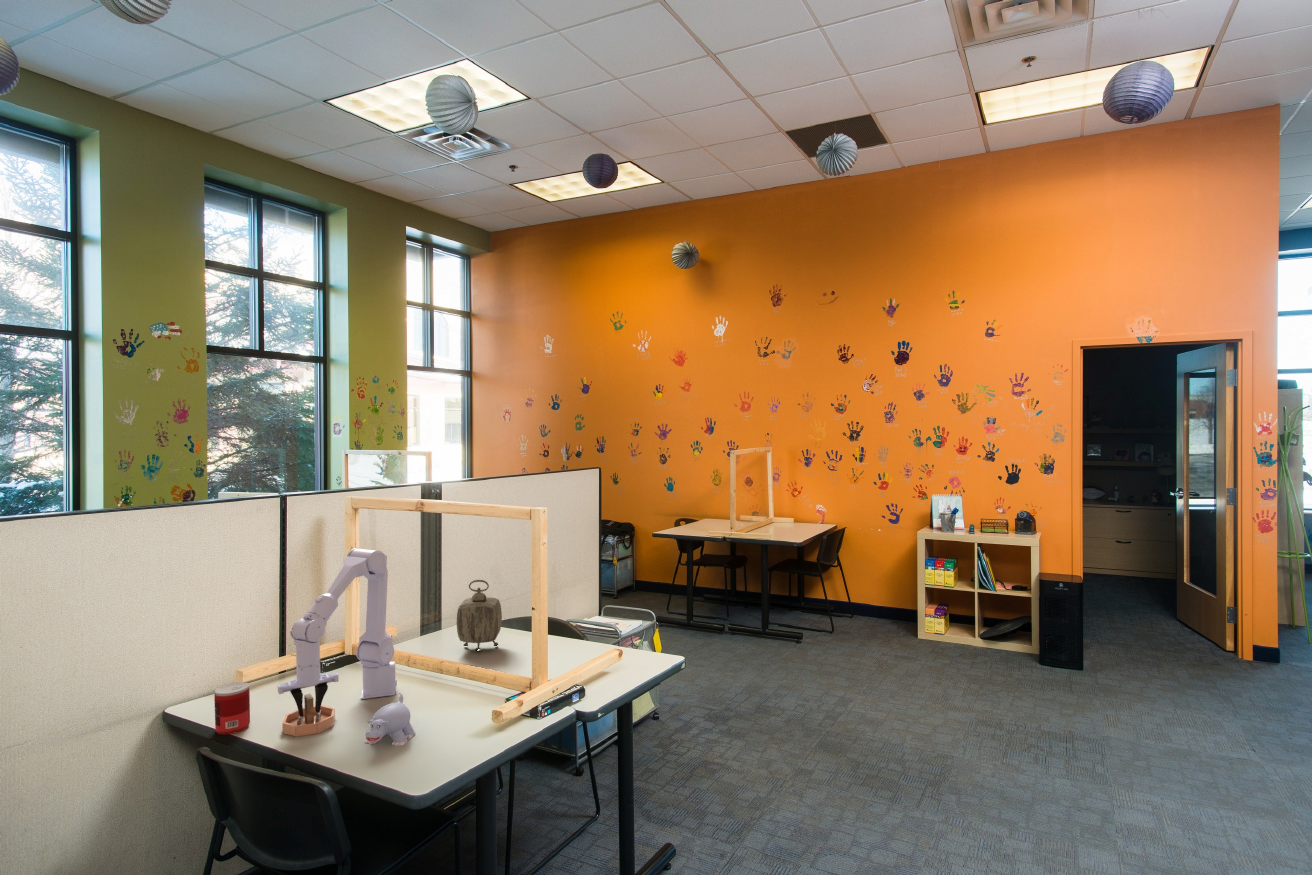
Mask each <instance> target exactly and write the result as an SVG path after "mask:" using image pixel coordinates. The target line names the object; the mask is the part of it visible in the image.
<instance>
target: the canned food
mask: <svg viewBox="0 0 1312 875" xmlns="http://www.w3.org/2000/svg"><path fill="white" fill-rule="evenodd" d="M213 695H214V725H215V726H214V727H215V728H214V729H215V732H216V733H217V734H218V735H233V734H237V733H239V732H240V733H241V732H242V731H244V730H246V729H247V728H248V727H249V726H250V725H251V724H250V723H251V714H250V713H251V706H250V705H251V702H250V700H251V698H250V696H251V695H250V684H249V683H247V682H231V683H227V684H224V685H222V686H218V688H216V689H215V690H214V694H213Z"/></svg>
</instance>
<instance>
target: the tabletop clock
mask: <svg viewBox="0 0 1312 875" xmlns="http://www.w3.org/2000/svg"><path fill="white" fill-rule="evenodd" d="M477 582H479V583H483V584H486V585H487V587H486V588H484V589H481V587H477V589H475V588H474V589H473V588H471V585H472V584H473V583H477ZM489 587H490V586H489V583H488V582H487V581H486V580H483V579H475V580H472V581H470V582H469V584H468V589H469V590H470V591H472V592H475V593H473V594H472V596H471V597H469V598H466V599H464V600H463V601H462V602H461V603H460V604H459V606H458V608H457V613H456V632H457V637H458V639H459V641H460V642H463V647H464V646H468V647H469V644H468V643H470V644H471V643H472V644H477V647H476V649H477V650H478V649H481V647H480V644H482V643H490V642H491V643H492V642H493V647H494V646H497V645H498V646H499V643H498V642H496V639H497V638H498V635H499V634H500V631H501V629H502V628H501V627H502V619H503V614H502V604H501V602H500V599H498V598H496V597H492V596H490V597H488V596H487V595H486V594H485V593H484V592H485V591H487V590H488V589H489ZM498 646H497V647H498ZM476 649H475V650H476Z"/></svg>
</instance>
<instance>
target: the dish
mask: <svg viewBox="0 0 1312 875" xmlns="http://www.w3.org/2000/svg"><path fill="white" fill-rule="evenodd" d="M335 720H336V708H335V707H331V706H326V705H322V704H321V707H320V712H319V713H317V712H316V710H315V705H314V723H311V724H307V723H306V721H305V707H303V716H302V717H300V716H299V712H298V709H296V710H294V711H292V712H289V713H288V714H285V715H284V717H283V720H282V724H281V725H282V734H286V735H290V736H293V737H303V736H309V735H315V734H319V733H321V732H324V731H325V730H327V729H330V728H331V727H334V725H335Z"/></svg>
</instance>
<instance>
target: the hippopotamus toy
mask: <svg viewBox="0 0 1312 875" xmlns="http://www.w3.org/2000/svg"><path fill="white" fill-rule="evenodd" d="M398 695H399V697H398V701H397V702H392V703H388V704H386V705H384V706H382V707H380V708H379V709H378V710H376V712H375V713H374V714H373V716H372V717H371V719H368V720H367V721H366V722H367V724H368V725H369V724H370V723H371V725H370V728H369V729H368V730H367V731H366V732H365V741H364V743H365V744H369V745H372V744H378V742H380V741H381V739H382V738H383V737H385V736H390V738H391V740H392V743H391V746H395V747H398V746H400V747H403V746H404V745H406V744H407V743H408V739H412V737H414V736H416V732H415V730H414V727H413V726H412V724H411V723H410V721H411V712H410V711H411V710H409V708H408V706H406V704H404V703H403V702H404V696H403V694H402V693H401V692H400V693H398Z"/></svg>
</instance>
